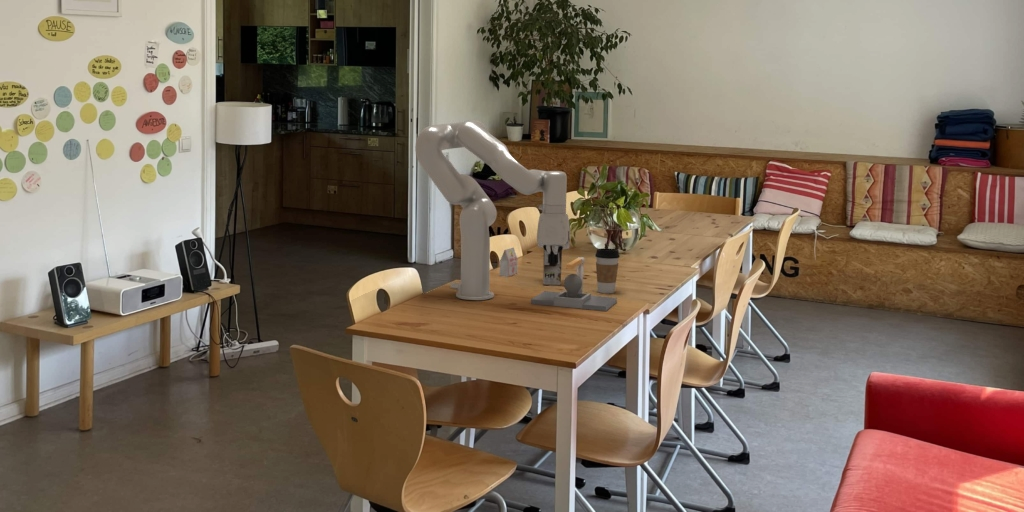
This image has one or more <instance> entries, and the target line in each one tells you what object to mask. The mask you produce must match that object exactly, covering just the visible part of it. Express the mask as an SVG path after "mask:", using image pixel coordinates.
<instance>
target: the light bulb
mask: <svg viewBox="0 0 1024 512" xmlns="http://www.w3.org/2000/svg"><path fill="white" fill-rule="evenodd" d="M563 287H564V288H565V291H567V294H568V298H577V296H578V292H579V290H580V289H581V287H582V280H581V278H580V277H579V276H578V275H577V273H570V274H568V275H567V276H566V277H565V278H564V280H563Z"/></svg>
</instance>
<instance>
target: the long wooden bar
mask: <svg viewBox="0 0 1024 512" xmlns="http://www.w3.org/2000/svg"><path fill="white" fill-rule="evenodd" d="M582 263H583V264H584V263H585V257H582V256H580V257H579V256H578V257H576V258H575V259H574V260H572V261H570V262H568V263H566V264H565V265H566V267H565V269H566V270H573V269H575V268H577V266H578V265H580V264H582Z"/></svg>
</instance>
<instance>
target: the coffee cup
mask: <svg viewBox="0 0 1024 512" xmlns="http://www.w3.org/2000/svg"><path fill="white" fill-rule="evenodd" d="M595 258H596V262H595V267H596V283H597V284H596V285H597V292H598V293H601V294H614V293H615V291H616V283H617V278H618V277H617V276H618V269H619V258H620V253H619V249H615V248H604V247H603V248H598V249H596V252H595Z"/></svg>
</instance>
